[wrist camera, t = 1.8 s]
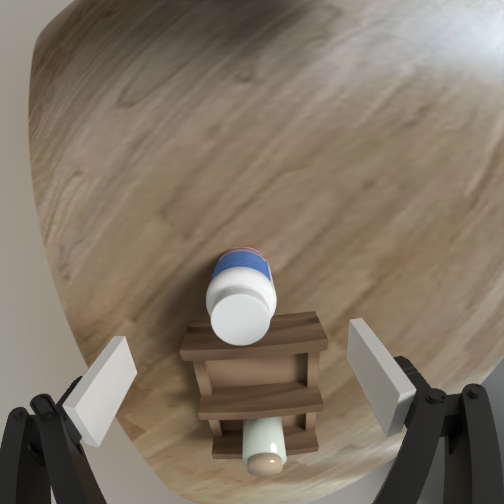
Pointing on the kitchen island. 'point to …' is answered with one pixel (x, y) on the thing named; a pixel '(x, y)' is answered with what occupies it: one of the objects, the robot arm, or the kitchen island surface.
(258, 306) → the pill bottle
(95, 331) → the kitchen island surface
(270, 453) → the jar
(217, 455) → the rack
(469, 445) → the robot arm
